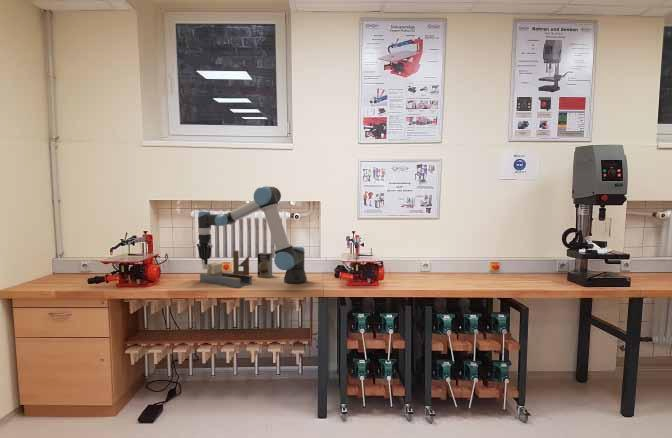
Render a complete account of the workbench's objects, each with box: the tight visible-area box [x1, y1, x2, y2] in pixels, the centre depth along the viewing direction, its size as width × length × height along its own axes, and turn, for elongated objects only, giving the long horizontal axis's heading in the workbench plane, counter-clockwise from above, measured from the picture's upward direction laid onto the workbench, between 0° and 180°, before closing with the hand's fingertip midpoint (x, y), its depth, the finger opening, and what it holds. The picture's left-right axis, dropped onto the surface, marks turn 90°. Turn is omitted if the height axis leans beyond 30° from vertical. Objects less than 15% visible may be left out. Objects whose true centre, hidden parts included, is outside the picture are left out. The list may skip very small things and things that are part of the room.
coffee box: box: [257, 252, 273, 278], centre depth 258 cm, size 9×6×16 cm
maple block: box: [206, 262, 223, 276], centre depth 242 cm, size 6×7×10 cm
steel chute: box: [199, 271, 253, 289], centre depth 237 cm, size 34×12×5 cm, turn 60°
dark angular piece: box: [232, 250, 250, 275], centre depth 257 cm, size 4×11×18 cm, turn 96°
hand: (204, 269), depth 246 cm, fingers closed
